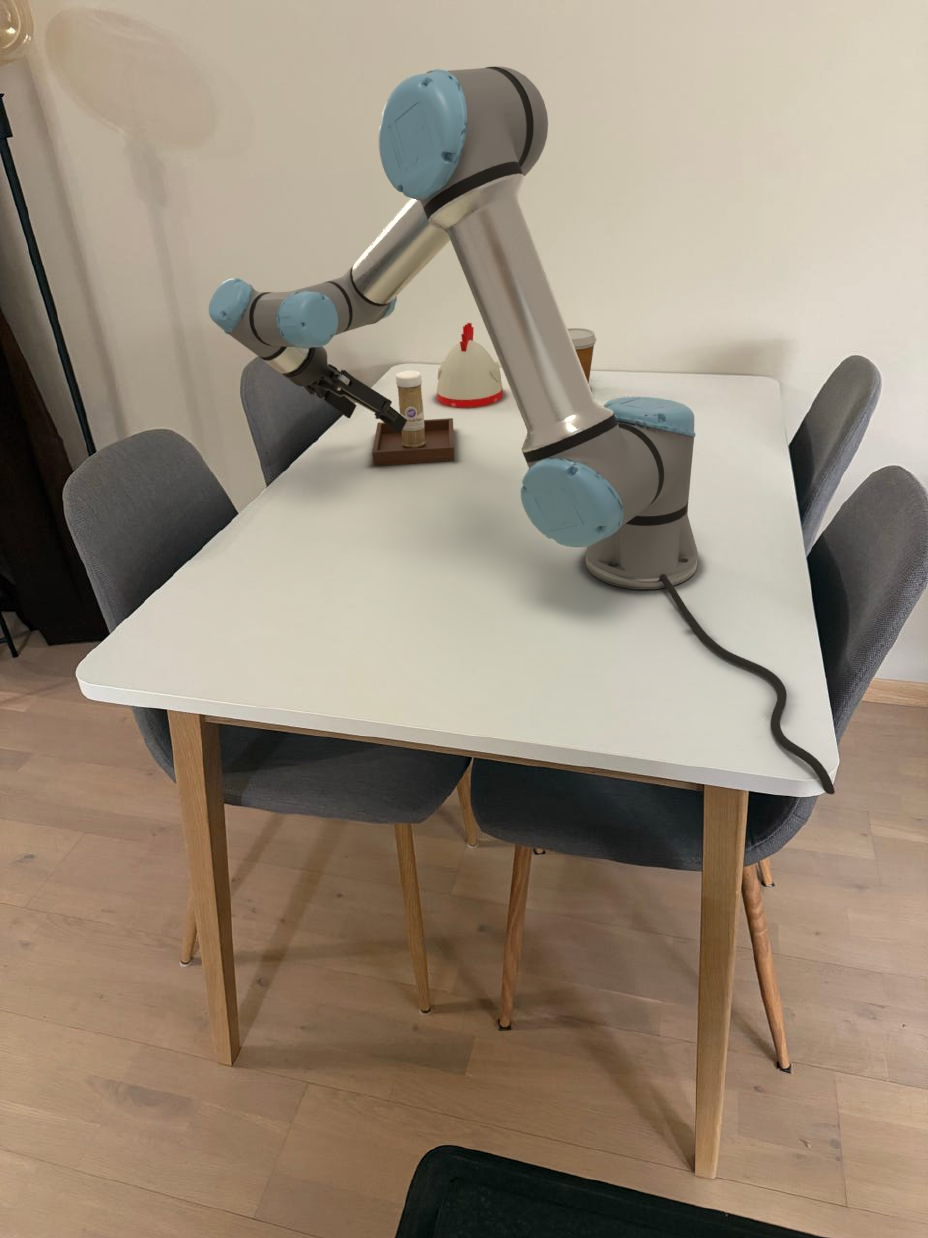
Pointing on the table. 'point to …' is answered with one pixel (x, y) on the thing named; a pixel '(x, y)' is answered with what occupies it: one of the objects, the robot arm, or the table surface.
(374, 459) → the wooden tray
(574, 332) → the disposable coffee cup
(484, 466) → the table surface
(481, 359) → the kitchen timer
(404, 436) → the sprinkles bottle
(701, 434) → the table surface
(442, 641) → the table surface
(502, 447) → the table surface
